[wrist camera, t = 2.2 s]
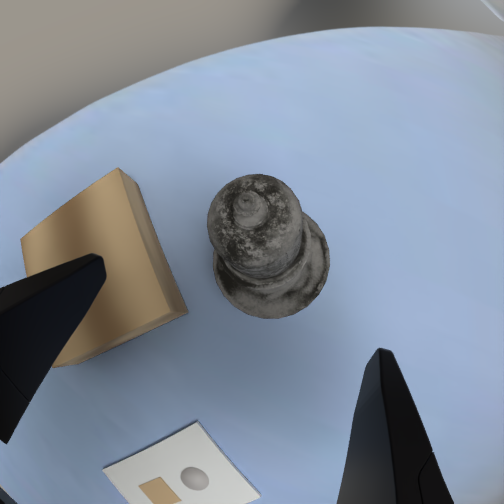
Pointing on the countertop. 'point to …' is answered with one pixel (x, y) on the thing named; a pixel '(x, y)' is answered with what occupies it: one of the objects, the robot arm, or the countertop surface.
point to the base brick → (108, 264)
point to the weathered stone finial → (266, 248)
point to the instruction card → (182, 473)
